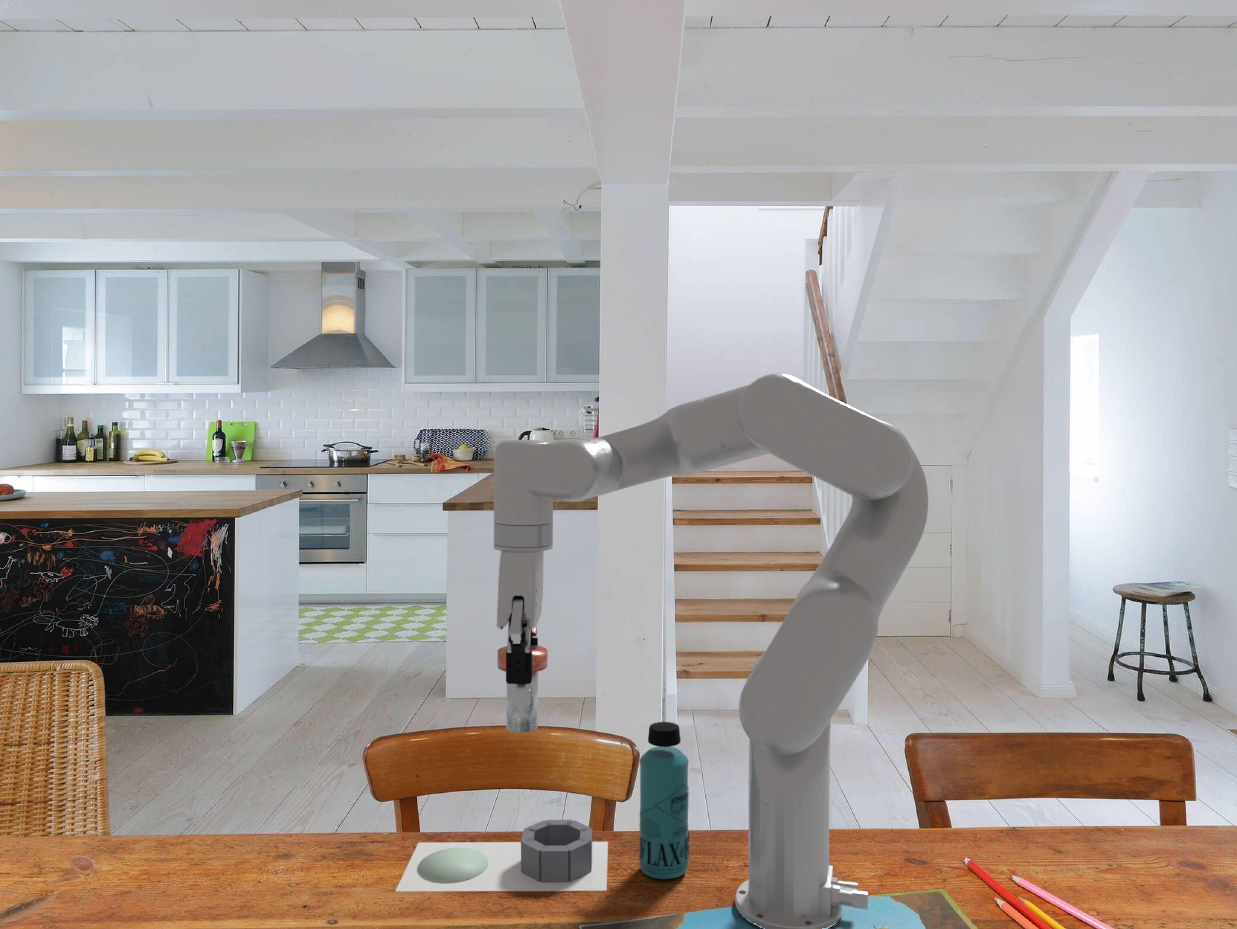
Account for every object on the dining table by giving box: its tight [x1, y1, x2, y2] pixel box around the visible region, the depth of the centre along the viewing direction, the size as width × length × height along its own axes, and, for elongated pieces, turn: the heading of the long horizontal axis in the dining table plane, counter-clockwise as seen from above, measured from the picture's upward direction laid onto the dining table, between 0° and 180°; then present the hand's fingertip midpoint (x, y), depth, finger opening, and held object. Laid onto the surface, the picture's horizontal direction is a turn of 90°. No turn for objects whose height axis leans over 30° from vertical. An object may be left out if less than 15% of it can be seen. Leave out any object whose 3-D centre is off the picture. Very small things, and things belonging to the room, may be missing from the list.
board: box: [395, 819, 609, 893], centre depth 119 cm, size 26×13×5 cm, turn 90°
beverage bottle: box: [638, 721, 690, 880], centre depth 117 cm, size 6×7×20 cm
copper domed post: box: [496, 645, 549, 733], centre depth 118 cm, size 6×6×10 cm
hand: (522, 673), depth 118 cm, fingers closed on copper domed post, 6 cm apart
